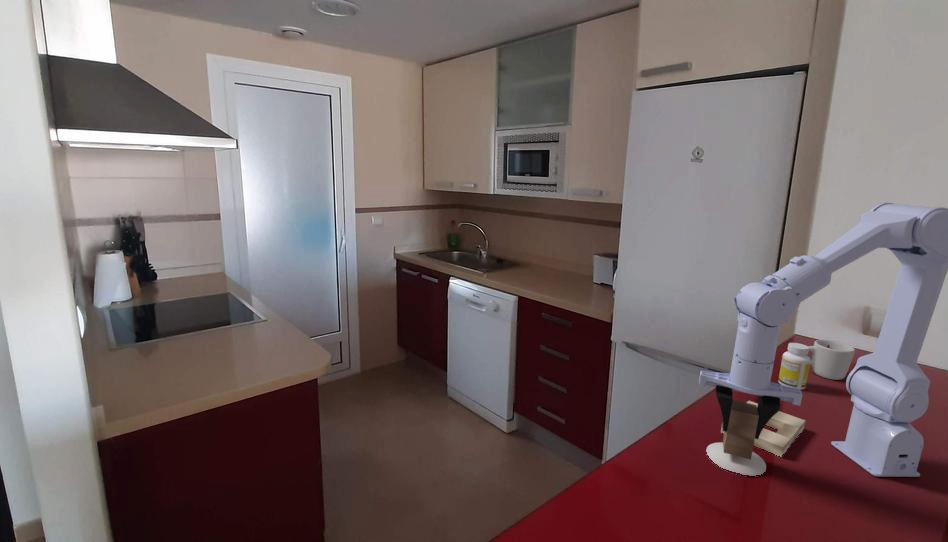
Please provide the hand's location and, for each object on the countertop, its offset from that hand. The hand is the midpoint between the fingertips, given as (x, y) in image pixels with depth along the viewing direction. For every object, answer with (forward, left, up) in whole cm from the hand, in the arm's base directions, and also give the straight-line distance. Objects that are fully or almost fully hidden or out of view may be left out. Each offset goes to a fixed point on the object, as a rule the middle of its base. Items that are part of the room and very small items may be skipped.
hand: (740, 432), depth 79 cm
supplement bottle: (+29, -31, -5) cm, 43 cm away
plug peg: (0, 0, -3) cm, 4 cm away
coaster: (0, 0, -5) cm, 5 cm away
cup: (+35, -43, -5) cm, 55 cm away
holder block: (+9, -11, -5) cm, 15 cm away
